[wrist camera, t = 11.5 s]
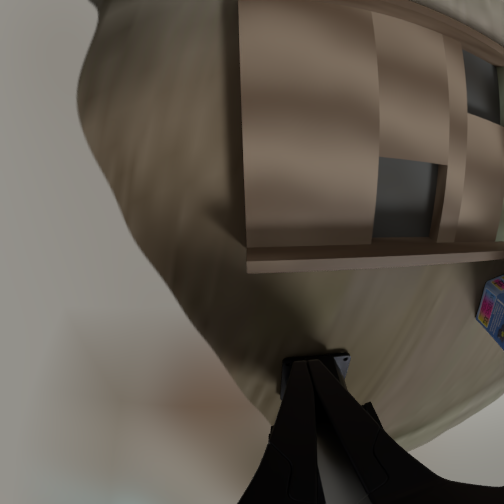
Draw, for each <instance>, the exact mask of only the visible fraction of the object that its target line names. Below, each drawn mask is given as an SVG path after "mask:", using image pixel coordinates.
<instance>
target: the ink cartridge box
mask: <svg viewBox="0 0 504 504" xmlns="http://www.w3.org/2000/svg"><path fill="white" fill-rule="evenodd" d="M476 320H477V321H478V322H479V323H480V324H481V325H482V326H483V327H484V329H485V330H486V331H487V332H488V333H489V334H490V335H491V336H492V337H493V339H494V340H495V341H496V342H497V343H498V344H499V346H500V347H501V348H502V349H503V350H504V275H501V276H499V277H496V278H494V279H491V280H489V281H487V282H486V284H485V287H484V291H483V295H482V299H481V302H480V306H479V309H478V312H477V316H476Z"/></svg>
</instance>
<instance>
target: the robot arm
mask: <svg viewBox="0 0 504 504" xmlns="http://www.w3.org/2000/svg"><path fill="white" fill-rule="evenodd" d="M350 359H351V357H350V354H349V353H339V354H330V355H319V356H307V357H293V358H285V359H284V360H283V362H282V377H281V391H280V399H281V400H282V402H281V405H280V409H279V412H278V415H277V418H276V421H275V424H274V426H271V432H270V434H269V441H268V444H267V447H266V450H265V453H264V455H263V458H262V460H261V463H260V465H259V467H258V469H257V471H256V473H255V475H254V477H253V479H252V480H251V482H250V484H249V485H248V487H247V489H246V490H245V492H244V494H243V495H242V497H241V498H240V500H239V502H238V503H237V504H504V486H502V487H491V486H482V485H473V484H466V483H460V482H455V481H450V480H447V479H444V478H442V477H440V476H438V475H436V474H435V473H433V472H432V471H431V470H429V469H428V468H427V467H425V466H424V465H423V464H422V463H420V462H419V461H418V460H416V459H415V458H414V457H412V456H411V455H410V454H408V452H406V451H405V450H404V449H403V448H402V447H401V446H399V445H398V444H397V443H396V442H395V441H394V440H393V439H392V438H391V437H390V436H389V435H388V434H387V433H386V432H385V431H384V429H383V427H382V425H381V422H380V420H379V418H378V416H377V414H376V412H375V410H374V408H373V405H372V403H371V402H368V403H365V405H362V406H361V405H360V404H359V403H358V402H357V401H356V400H355V398H354V397H353V396H352V395H351V394H350V393H349V392H348V390H347V387H346V383H345V376H346V373H347V370H348V366H349V363H350Z"/></svg>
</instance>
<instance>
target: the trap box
mask: <svg viewBox="0 0 504 504" xmlns="http://www.w3.org/2000/svg"><path fill="white" fill-rule="evenodd" d="M238 13H239V47H240V78H241V107H242V135H243V162H244V188H245V213H246V238H247V261H246V262H247V274H250V273H282V272H308V271H331V270H352V269H371V268H389V267H406V266H421V265H436V264H450V263H463V262H476V261H488V260H499V259H504V47H502V46H501V45H499V44H498V43H496V42H494V41H493V40H491V39H490V38H488V37H486V36H485V35H483V34H481V33H479V32H478V31H476V30H474V29H472V28H470V27H469V26H467V25H465V24H463V23H461V22H459V21H457V20H455V19H453V18H451V17H449V16H446V15H444V14H442V13H440V12H437V11H435V10H433V9H430V8H428V7H425V6H423V5H420V4H418V3H415V2H412V1H409V0H238Z"/></svg>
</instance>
